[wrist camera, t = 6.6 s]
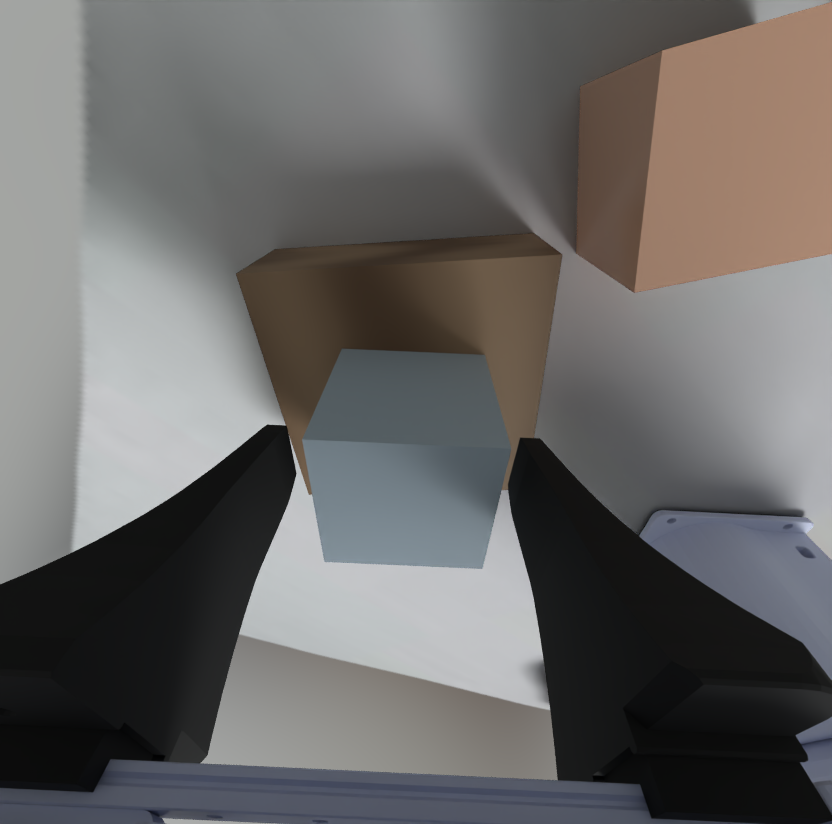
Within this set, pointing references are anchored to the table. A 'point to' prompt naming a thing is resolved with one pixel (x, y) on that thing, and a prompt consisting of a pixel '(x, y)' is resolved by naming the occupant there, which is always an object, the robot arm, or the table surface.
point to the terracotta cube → (710, 156)
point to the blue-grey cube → (407, 459)
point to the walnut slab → (406, 315)
